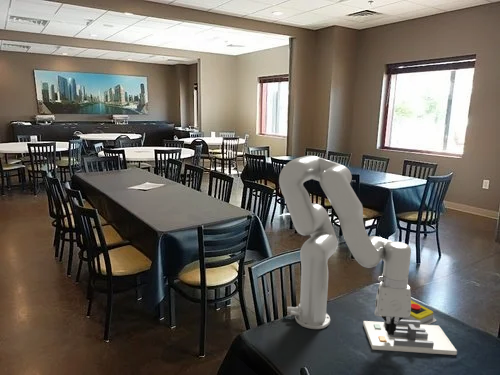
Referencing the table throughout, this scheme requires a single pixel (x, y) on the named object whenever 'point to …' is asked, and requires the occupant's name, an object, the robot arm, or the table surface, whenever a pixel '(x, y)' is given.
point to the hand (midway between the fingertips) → (389, 332)
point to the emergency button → (421, 314)
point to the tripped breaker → (411, 332)
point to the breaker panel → (425, 341)
